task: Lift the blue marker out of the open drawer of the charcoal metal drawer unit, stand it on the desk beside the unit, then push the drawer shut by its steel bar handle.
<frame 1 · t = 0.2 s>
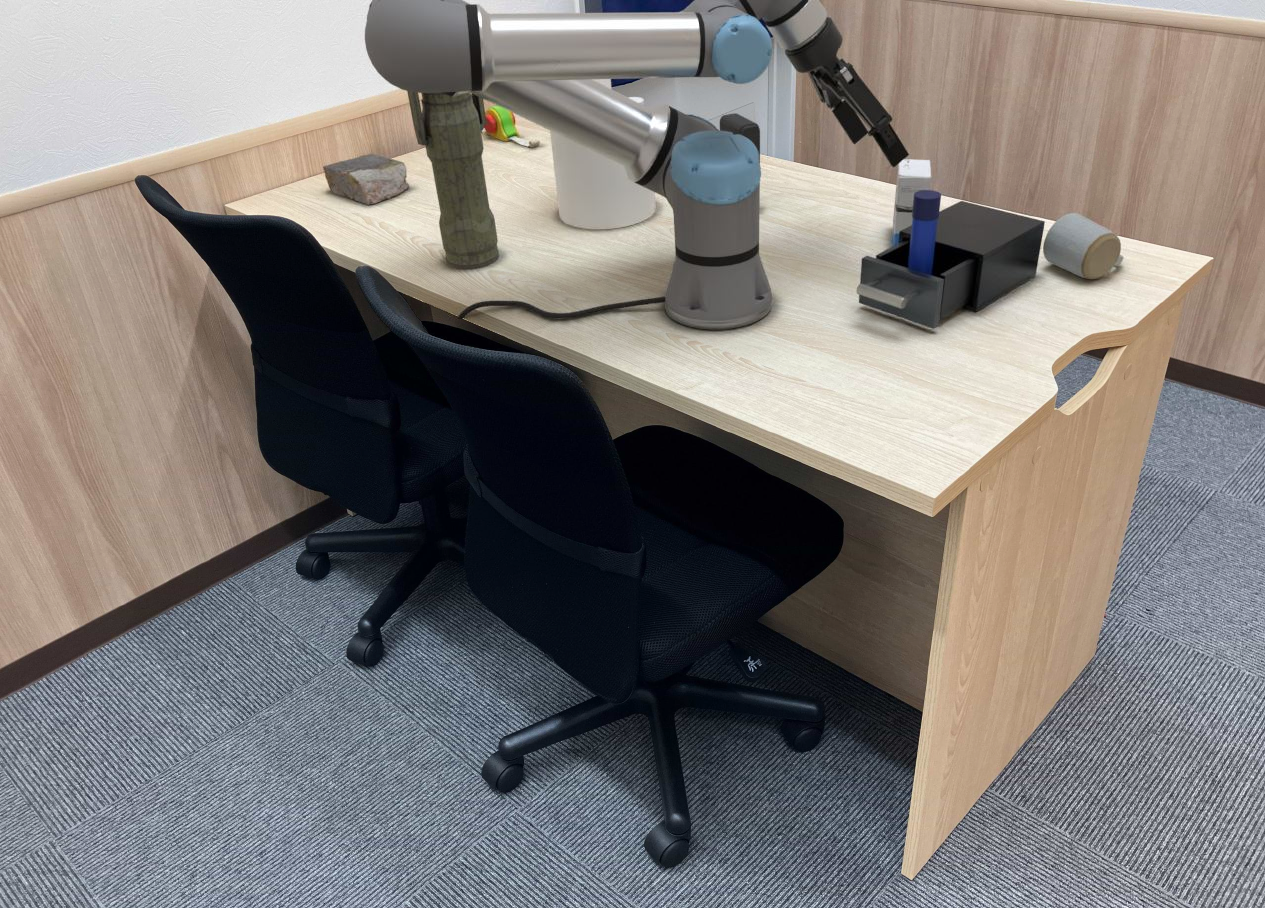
hand: (879, 148, 149), 15 cm above the table, tool tilted 35°, fingers open, 13 cm apart
card reader: (740, 206, 176), on the table
drawer unit: (964, 281, 145), on the table
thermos: (473, 259, 164), on the table
toy measuring tape: (510, 140, 219), on the table
ceramic mug: (1083, 270, 146), on the table
geological specimen: (371, 191, 196), on the table
ink box: (907, 241, 159), on the table
marker: (917, 296, 137), point 2 cm above the table, touching drawer
drawer: (919, 280, 136), point 4 cm above the table, slide at 8.0 cm, touching marker
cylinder: (607, 212, 178), on the table
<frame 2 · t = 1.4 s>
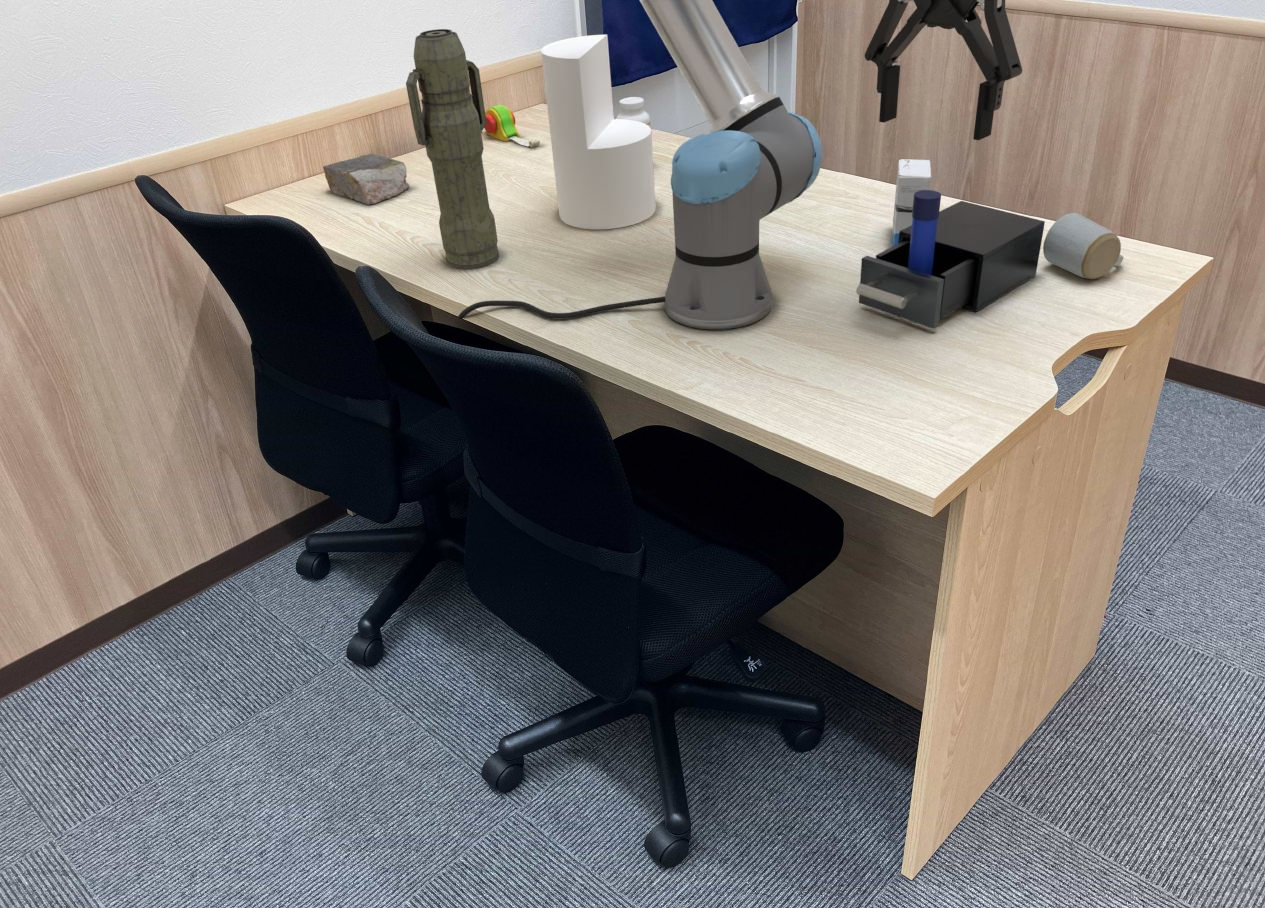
hand: (933, 128, 125), 25 cm above the table, tool pointing down, fingers open, 13 cm apart
nothing on the table moved.
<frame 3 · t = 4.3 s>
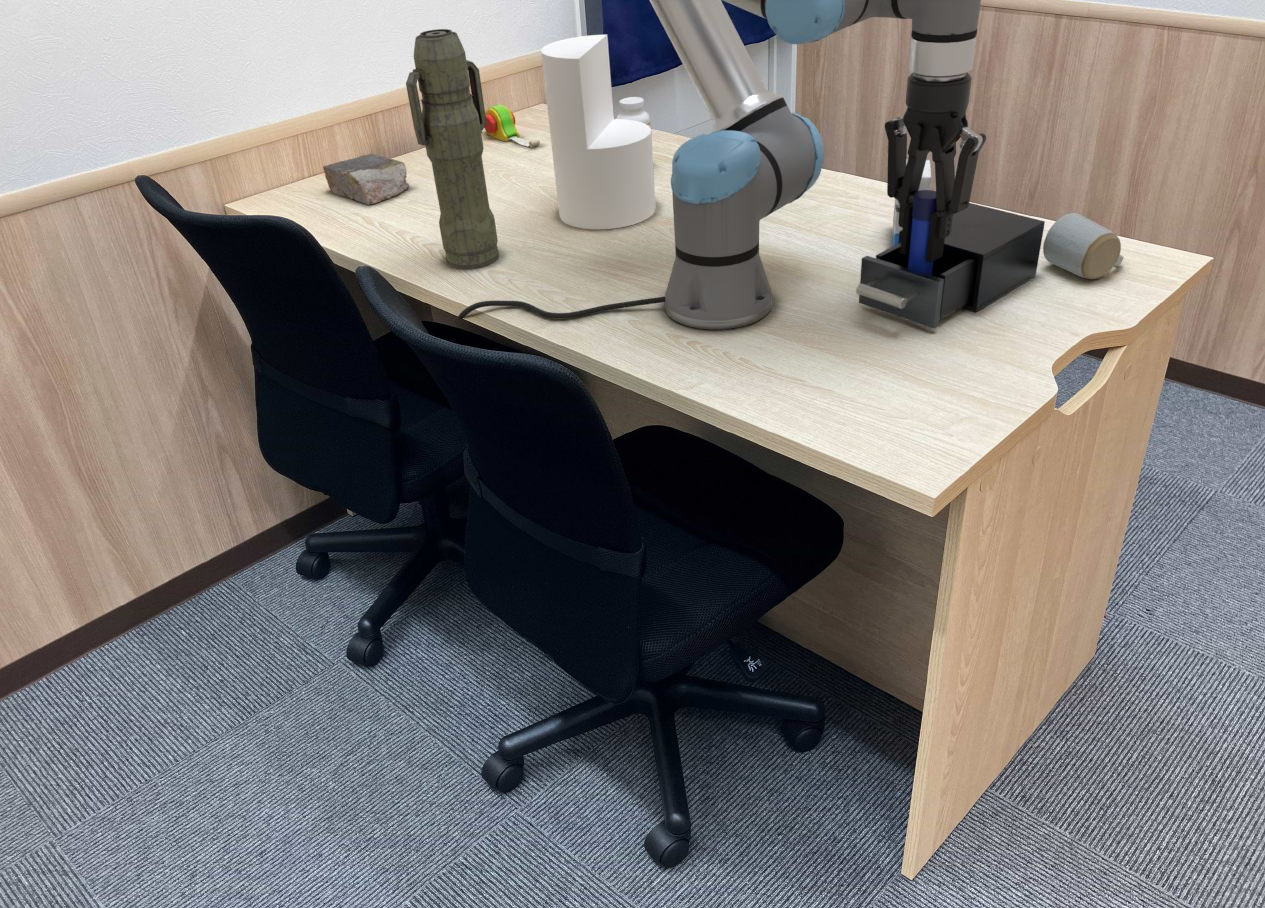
hand: (921, 254, 134), 8 cm above the table, tool pointing down, fingers closed on marker, 3 cm apart
marker: (917, 296, 137), point 2 cm above the table, touching drawer, gripper
everything else where it was.
when the fingers open (6 cm above the table, at t = 12.4 s): marker stays where it is, on the table.
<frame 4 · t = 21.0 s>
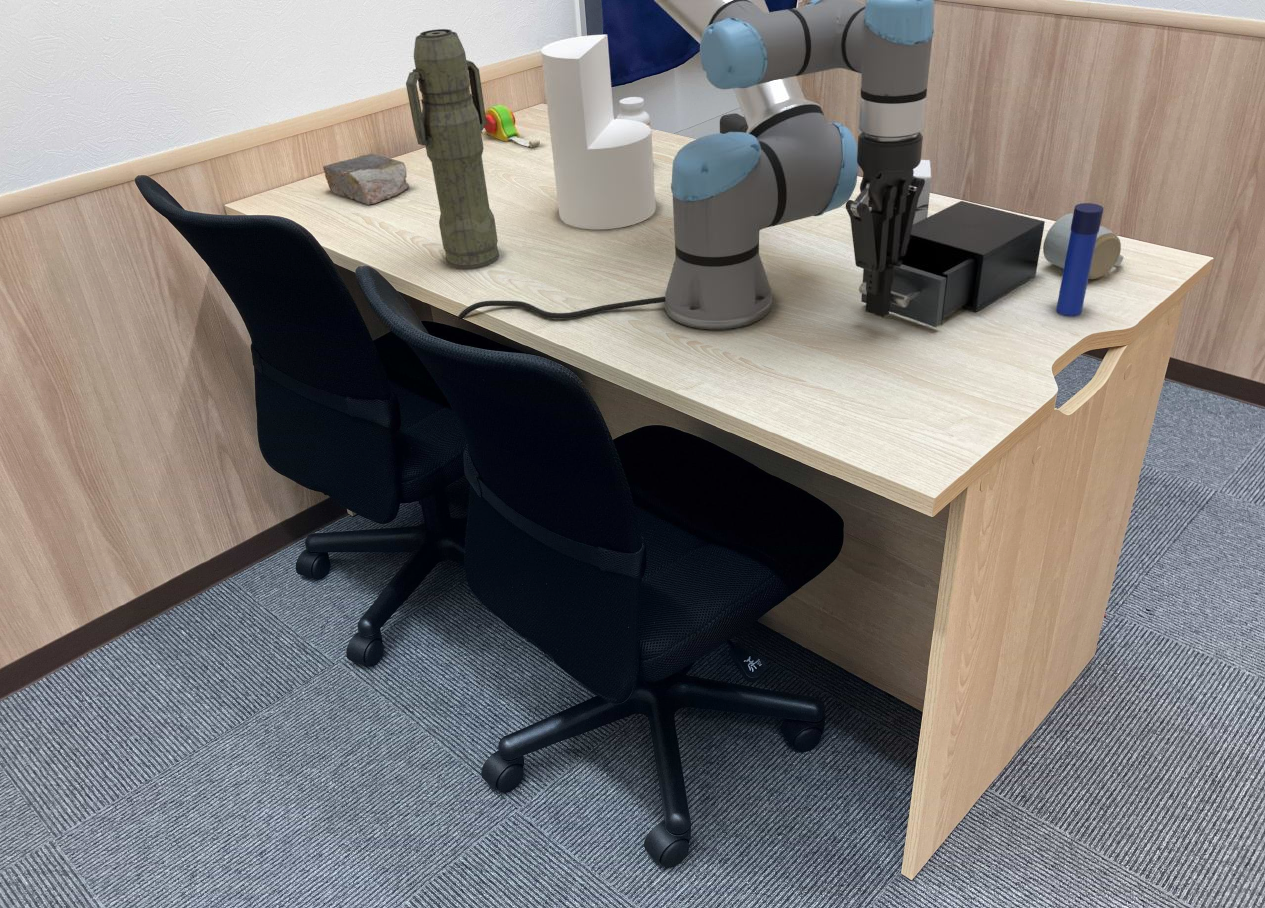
hand: (877, 312, 132), 3 cm above the table, tool pointing down, fingers closed
marker: (1068, 310, 135), on the table
drawer: (921, 279, 136), point 4 cm above the table, slide at 7.5 cm, touching gripper
everything else where it was.
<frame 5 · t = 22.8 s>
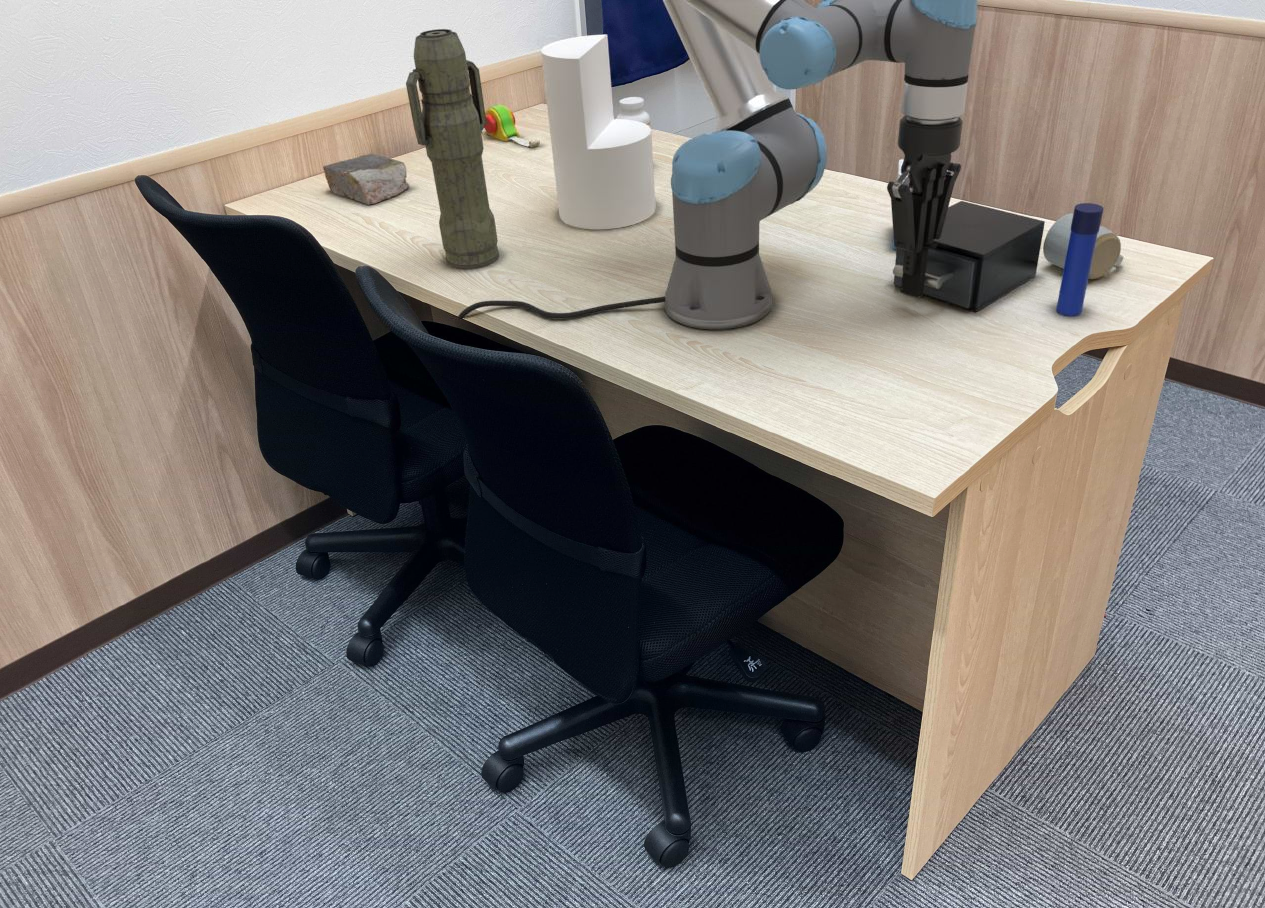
hand: (911, 293, 136), 3 cm above the table, tool pointing down, fingers closed
drawer: (953, 262, 140), point 4 cm above the table, slide at 0.0 cm, touching drawer unit, gripper
everything else where it was.
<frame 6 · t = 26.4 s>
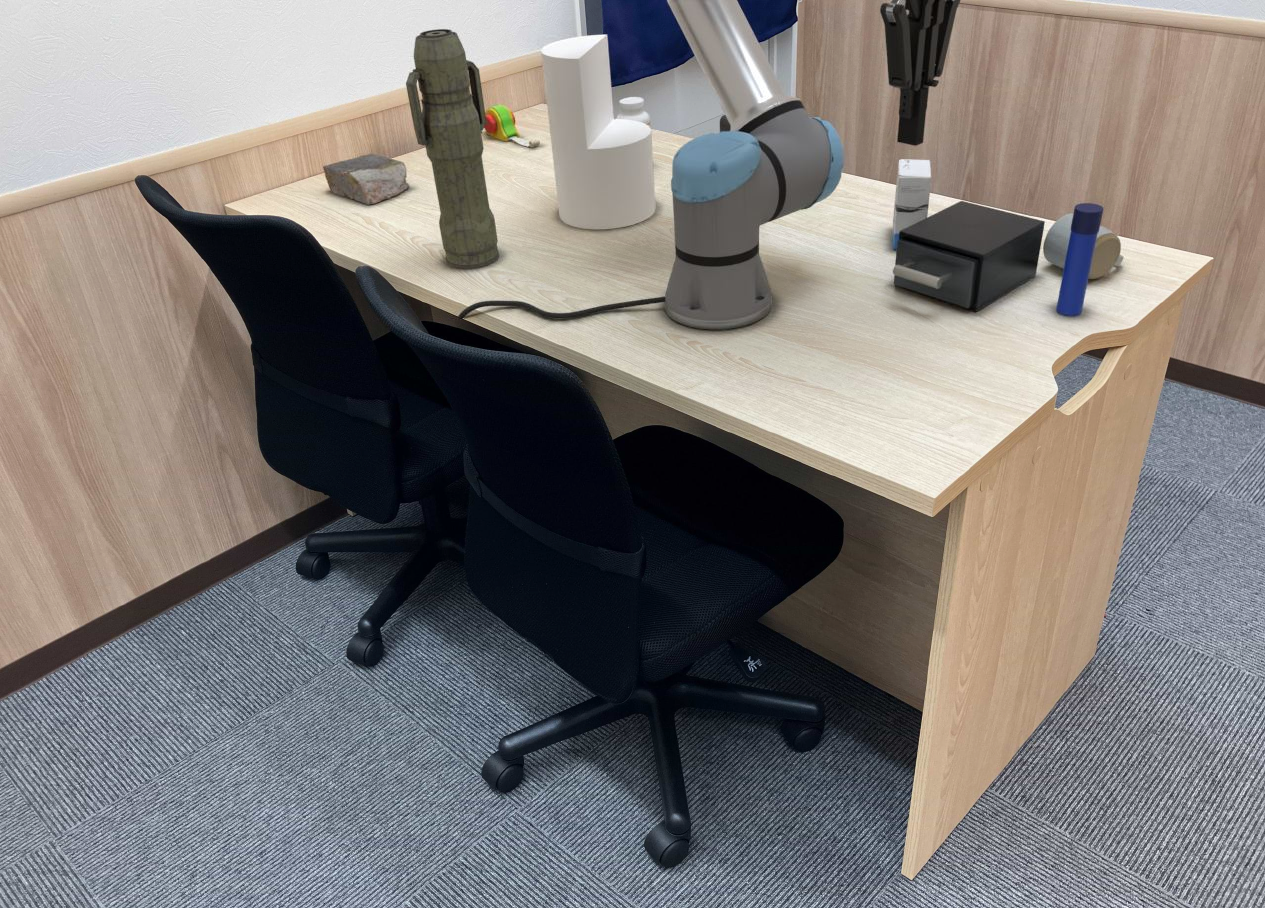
hand: (910, 142, 122), 24 cm above the table, tool pointing down, fingers closed
drawer: (953, 262, 140), point 4 cm above the table, slide at 0.0 cm, touching drawer unit
everything else where it was.
at the end: marker inside the target area (0.1 cm from its centre), on the table; drawer slide at 0.0 cm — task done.
